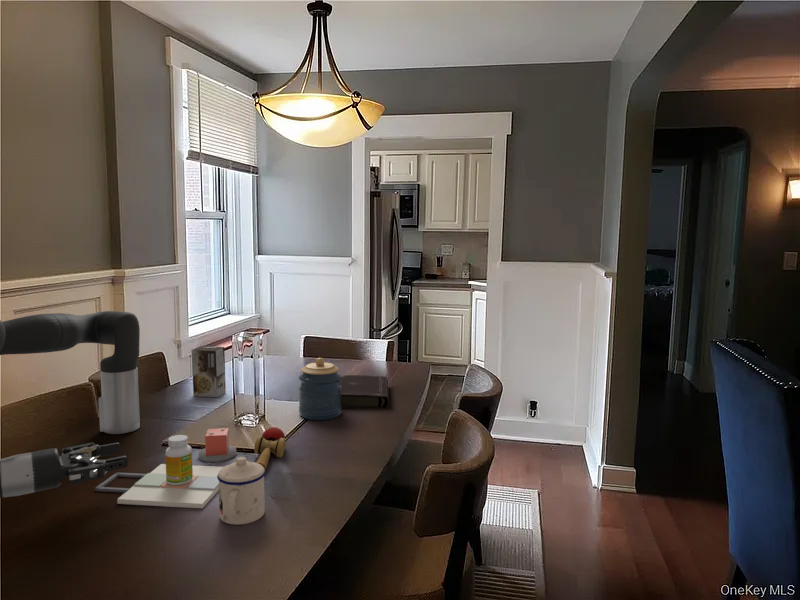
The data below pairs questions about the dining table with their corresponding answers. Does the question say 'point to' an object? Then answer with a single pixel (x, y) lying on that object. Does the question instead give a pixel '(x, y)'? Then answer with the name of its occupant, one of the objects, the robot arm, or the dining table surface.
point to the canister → (320, 391)
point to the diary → (363, 391)
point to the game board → (168, 488)
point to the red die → (217, 446)
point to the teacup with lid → (241, 492)
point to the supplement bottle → (178, 461)
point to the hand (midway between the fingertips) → (123, 454)
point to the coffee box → (208, 371)
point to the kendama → (270, 445)
